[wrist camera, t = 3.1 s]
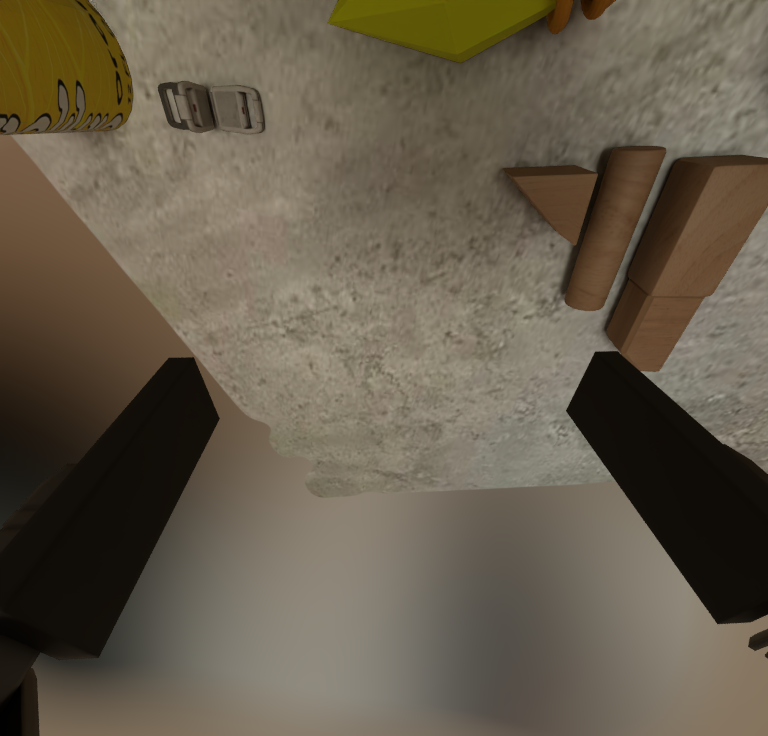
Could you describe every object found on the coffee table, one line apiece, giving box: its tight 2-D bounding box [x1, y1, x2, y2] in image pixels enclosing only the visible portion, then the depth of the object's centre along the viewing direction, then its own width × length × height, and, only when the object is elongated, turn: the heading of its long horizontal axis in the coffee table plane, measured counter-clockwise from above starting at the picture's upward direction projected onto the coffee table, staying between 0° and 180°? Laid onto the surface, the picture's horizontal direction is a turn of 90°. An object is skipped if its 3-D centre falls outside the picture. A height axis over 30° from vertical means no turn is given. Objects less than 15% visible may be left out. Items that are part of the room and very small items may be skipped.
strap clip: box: [158, 81, 264, 134], centre depth 25 cm, size 8×3×4 cm, turn 87°
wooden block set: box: [503, 146, 768, 372], centre depth 27 cm, size 17×6×18 cm
